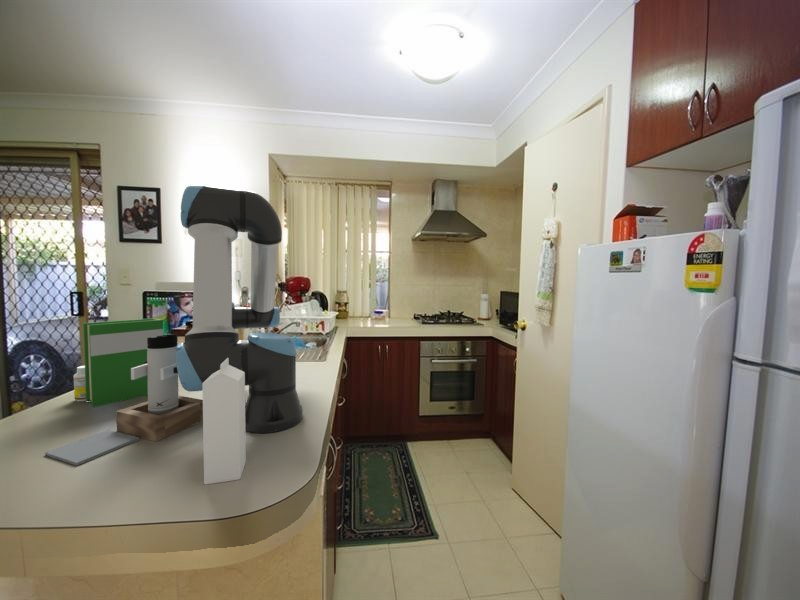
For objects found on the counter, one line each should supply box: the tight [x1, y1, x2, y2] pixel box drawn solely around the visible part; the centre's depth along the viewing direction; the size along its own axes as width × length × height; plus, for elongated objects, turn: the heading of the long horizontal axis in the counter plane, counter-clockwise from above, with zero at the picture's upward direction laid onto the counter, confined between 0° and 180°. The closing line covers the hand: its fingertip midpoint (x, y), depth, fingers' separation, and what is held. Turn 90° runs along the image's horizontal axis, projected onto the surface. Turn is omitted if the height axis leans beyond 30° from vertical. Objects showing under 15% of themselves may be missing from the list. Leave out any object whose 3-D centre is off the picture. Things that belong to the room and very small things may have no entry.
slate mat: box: [44, 429, 139, 466], centre depth 70 cm, size 11×11×1 cm
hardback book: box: [82, 317, 164, 408], centre depth 100 cm, size 18×7×24 cm, turn 145°
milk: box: [201, 358, 247, 485], centre depth 60 cm, size 6×6×22 cm
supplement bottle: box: [73, 364, 86, 402], centre depth 97 cm, size 6×6×10 cm
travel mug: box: [147, 333, 179, 415], centre depth 80 cm, size 6×7×20 cm
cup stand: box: [115, 394, 203, 442], centre depth 81 cm, size 14×13×5 cm
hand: (147, 374), depth 75 cm, fingers closed on travel mug, 6 cm apart
